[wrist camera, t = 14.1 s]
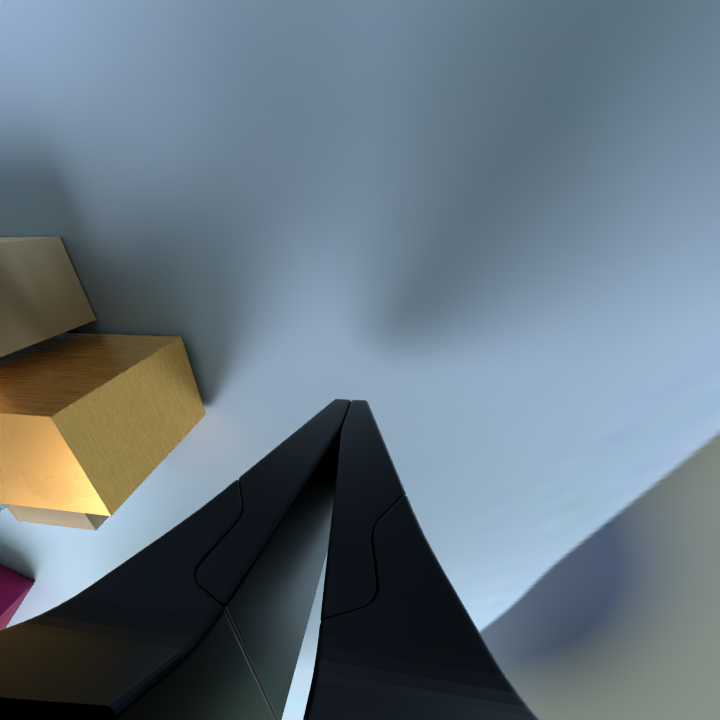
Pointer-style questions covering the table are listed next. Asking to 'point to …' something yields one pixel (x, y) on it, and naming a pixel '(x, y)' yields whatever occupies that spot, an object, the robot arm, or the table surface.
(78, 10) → the table surface
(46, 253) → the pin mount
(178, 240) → the table surface
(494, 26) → the table surface
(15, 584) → the book
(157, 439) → the pin
